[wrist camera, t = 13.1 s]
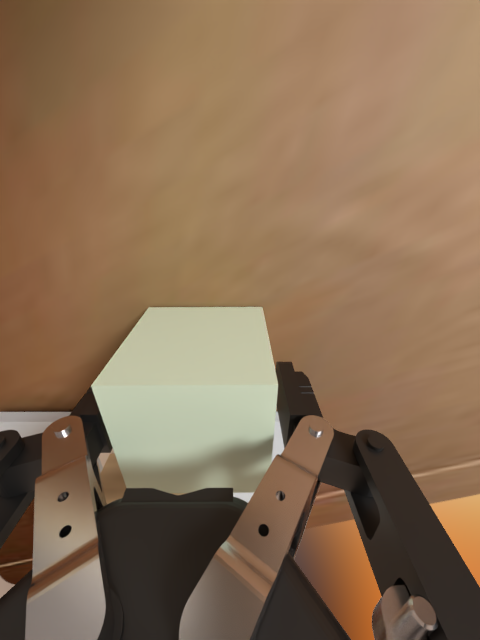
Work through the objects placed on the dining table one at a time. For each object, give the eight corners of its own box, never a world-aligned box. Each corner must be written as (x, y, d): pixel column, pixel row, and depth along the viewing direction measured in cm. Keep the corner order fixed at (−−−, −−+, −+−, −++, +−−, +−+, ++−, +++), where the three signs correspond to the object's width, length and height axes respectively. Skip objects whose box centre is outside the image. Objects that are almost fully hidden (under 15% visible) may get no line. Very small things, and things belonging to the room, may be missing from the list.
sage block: (148, 307, 14) (90, 385, 8) (262, 306, 14) (278, 384, 8) (164, 393, 16) (128, 493, 11) (258, 392, 16) (268, 492, 11)
